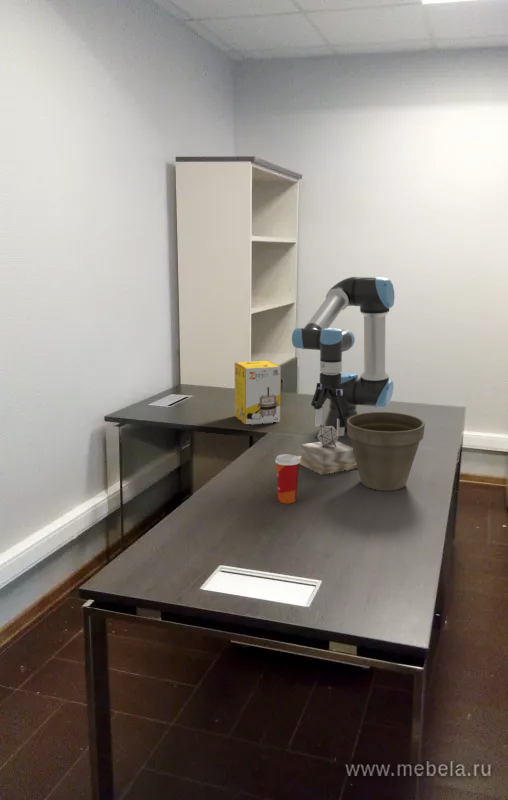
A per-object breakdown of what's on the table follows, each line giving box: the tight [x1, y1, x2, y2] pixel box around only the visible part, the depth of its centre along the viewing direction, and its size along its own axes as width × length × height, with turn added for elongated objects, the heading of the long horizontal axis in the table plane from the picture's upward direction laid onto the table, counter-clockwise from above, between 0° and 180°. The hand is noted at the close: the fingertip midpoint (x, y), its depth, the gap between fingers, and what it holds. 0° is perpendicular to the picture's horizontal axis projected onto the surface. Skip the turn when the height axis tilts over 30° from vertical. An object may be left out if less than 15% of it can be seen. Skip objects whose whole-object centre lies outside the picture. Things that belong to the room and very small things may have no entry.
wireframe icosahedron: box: [314, 424, 340, 448], centre depth 253 cm, size 9×8×10 cm
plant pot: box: [346, 411, 426, 492], centre depth 232 cm, size 25×25×22 cm
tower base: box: [297, 440, 358, 476], centre depth 254 cm, size 18×18×6 cm
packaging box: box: [234, 360, 282, 425], centre depth 315 cm, size 16×16×25 cm
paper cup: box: [274, 453, 300, 505], centre depth 217 cm, size 8×8×14 cm
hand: (329, 431), depth 252 cm, fingers open, 13 cm apart
